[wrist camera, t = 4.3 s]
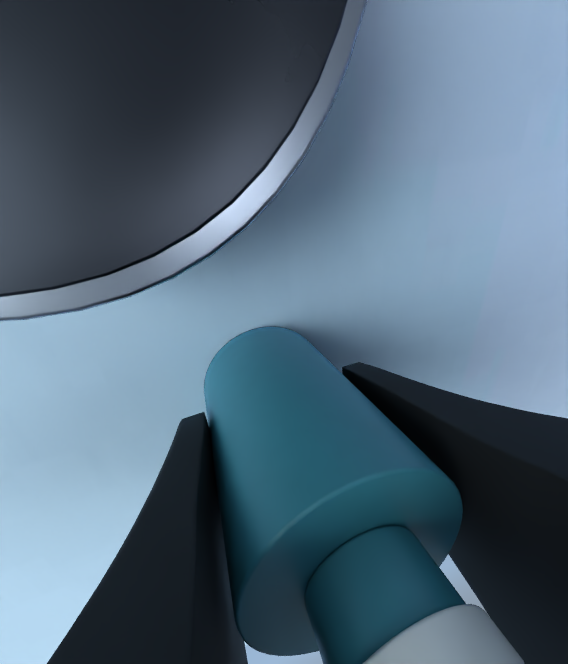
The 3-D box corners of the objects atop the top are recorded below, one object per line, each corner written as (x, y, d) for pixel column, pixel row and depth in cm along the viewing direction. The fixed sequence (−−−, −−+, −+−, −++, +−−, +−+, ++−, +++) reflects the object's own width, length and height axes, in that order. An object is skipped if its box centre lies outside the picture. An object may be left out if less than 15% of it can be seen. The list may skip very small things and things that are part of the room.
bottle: (313, 312, 10) (634, 543, 3) (324, 409, 12) (543, 703, 5) (188, 345, 9) (214, 814, 2) (220, 446, 11) (297, 890, 4)
